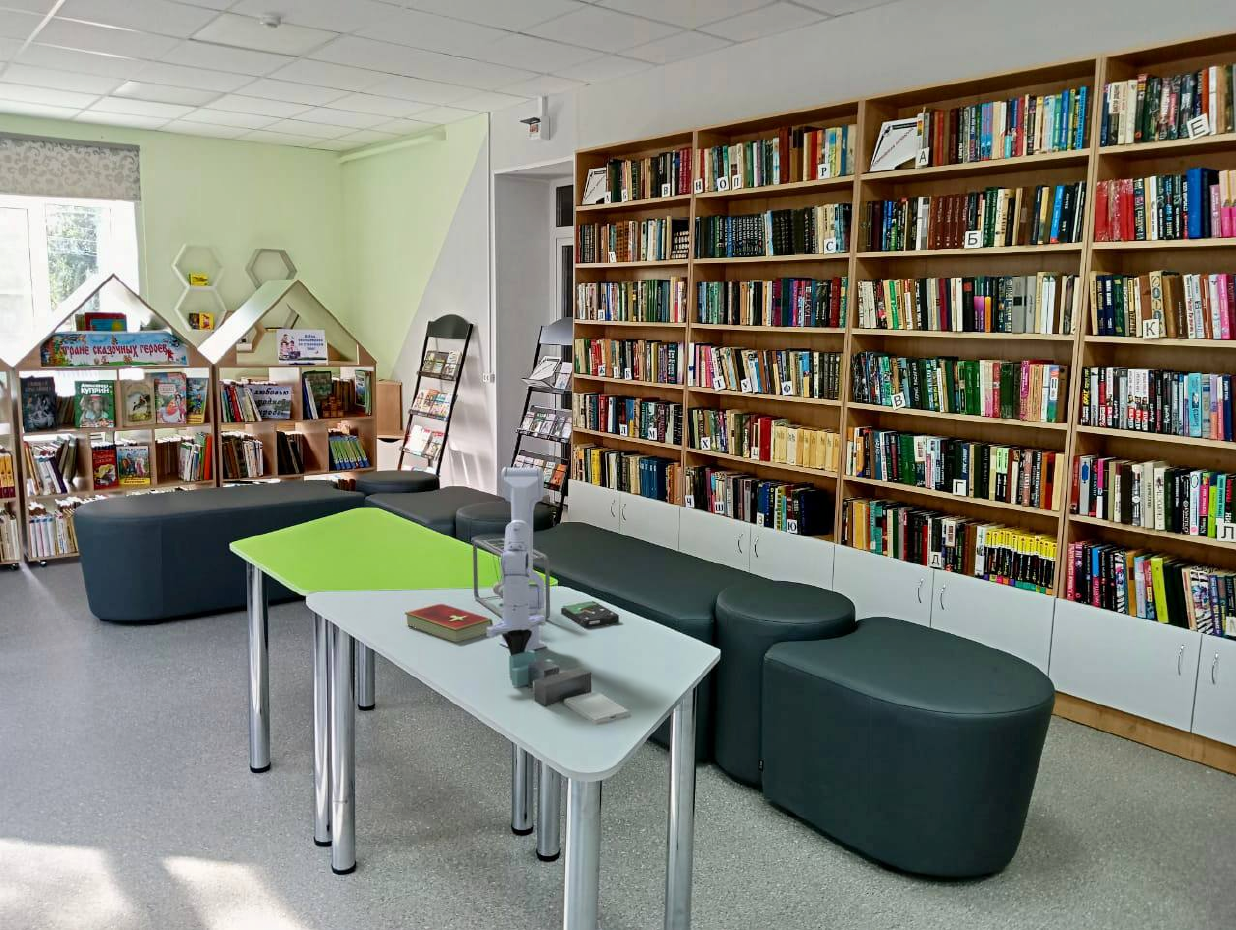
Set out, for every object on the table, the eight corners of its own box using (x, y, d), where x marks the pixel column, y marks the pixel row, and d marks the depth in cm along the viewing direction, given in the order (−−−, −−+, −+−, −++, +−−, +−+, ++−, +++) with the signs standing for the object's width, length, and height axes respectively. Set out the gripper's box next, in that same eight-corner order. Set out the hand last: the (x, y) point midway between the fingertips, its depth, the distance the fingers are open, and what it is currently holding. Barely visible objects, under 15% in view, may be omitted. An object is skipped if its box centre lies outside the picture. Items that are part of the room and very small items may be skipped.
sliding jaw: (502, 679, 214) (501, 657, 213) (539, 669, 220) (538, 648, 219) (517, 687, 209) (516, 665, 209) (554, 676, 216) (554, 655, 215)
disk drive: (619, 625, 256) (593, 609, 269) (619, 614, 255) (593, 600, 268) (584, 631, 251) (560, 615, 264) (584, 620, 250) (560, 605, 263)
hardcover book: (442, 617, 262) (441, 601, 262) (492, 633, 248) (492, 617, 248) (405, 627, 253) (404, 611, 253) (455, 644, 239) (455, 628, 239)
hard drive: (564, 698, 201) (595, 718, 191) (597, 690, 206) (630, 709, 195) (564, 706, 201) (595, 726, 191) (597, 698, 206) (630, 717, 195)
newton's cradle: (473, 599, 278) (472, 538, 275) (507, 594, 283) (506, 534, 280) (514, 627, 252) (513, 561, 249) (550, 621, 257) (550, 556, 254)
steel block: (528, 685, 211) (528, 663, 211) (543, 681, 214) (543, 659, 213) (544, 693, 207) (544, 671, 206) (559, 689, 209) (559, 666, 208)
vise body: (529, 697, 204) (528, 677, 204) (574, 684, 212) (574, 664, 211) (545, 706, 200) (545, 685, 199) (591, 692, 207) (591, 672, 207)
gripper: (498, 613, 208) (499, 673, 210) (553, 601, 217) (553, 659, 219) (481, 605, 213) (482, 664, 216) (535, 594, 223) (535, 651, 225)
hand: (516, 661), depth 218 cm, fingers closed, pressing on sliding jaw
